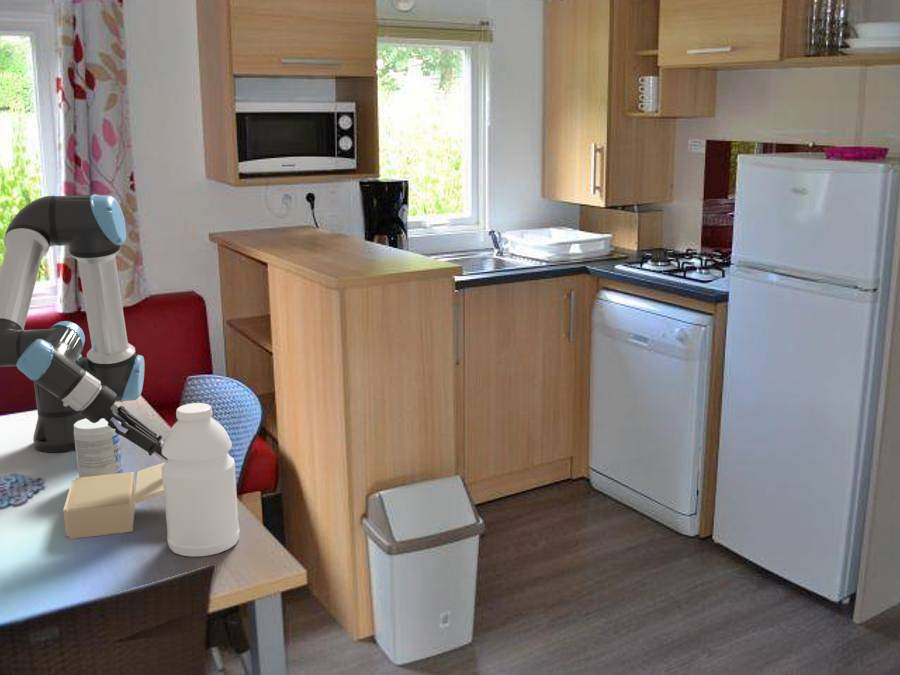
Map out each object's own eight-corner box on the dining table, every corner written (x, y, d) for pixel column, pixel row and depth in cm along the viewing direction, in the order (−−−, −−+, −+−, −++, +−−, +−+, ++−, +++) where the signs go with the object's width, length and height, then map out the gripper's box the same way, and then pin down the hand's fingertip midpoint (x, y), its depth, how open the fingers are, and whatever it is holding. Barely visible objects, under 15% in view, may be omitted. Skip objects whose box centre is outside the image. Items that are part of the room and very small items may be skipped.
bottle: (175, 564, 178) (163, 423, 172) (161, 535, 190) (149, 403, 184) (248, 548, 185) (239, 411, 178) (230, 521, 197) (221, 392, 190)
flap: (137, 471, 207) (191, 453, 209) (139, 475, 207) (192, 457, 209) (134, 499, 192) (192, 480, 194) (135, 504, 192) (194, 484, 194)
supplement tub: (128, 485, 216) (122, 424, 212) (85, 494, 211) (78, 432, 207) (117, 471, 224) (111, 412, 220) (75, 480, 219) (68, 420, 215)
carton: (75, 503, 206) (72, 477, 204) (136, 497, 209) (133, 471, 208) (65, 539, 189) (62, 511, 188) (132, 531, 192) (129, 503, 191)
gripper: (78, 402, 198) (167, 467, 208) (77, 421, 186) (171, 488, 196) (102, 375, 199) (190, 441, 208) (103, 392, 187) (196, 461, 196)
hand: (181, 464), depth 202 cm, fingers closed
